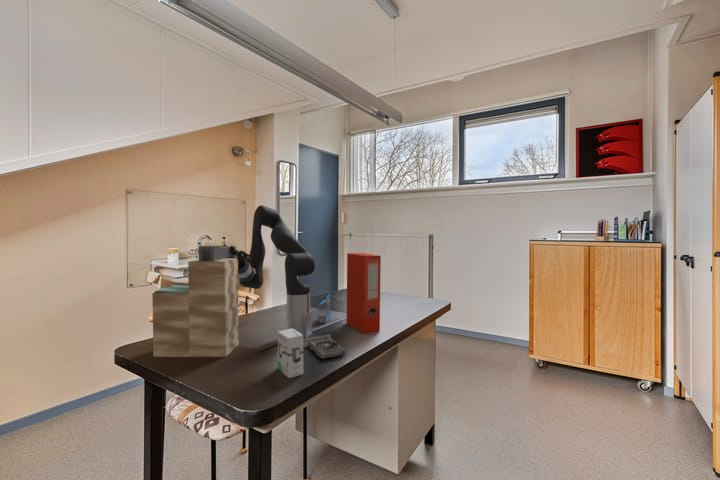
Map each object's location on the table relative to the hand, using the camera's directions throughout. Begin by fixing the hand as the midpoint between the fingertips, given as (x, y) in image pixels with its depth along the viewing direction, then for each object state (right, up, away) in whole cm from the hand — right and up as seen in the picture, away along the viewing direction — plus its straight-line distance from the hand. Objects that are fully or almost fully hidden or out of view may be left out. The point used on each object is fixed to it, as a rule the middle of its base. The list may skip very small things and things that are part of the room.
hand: (226, 248), depth 125 cm
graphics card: (+38, -37, -10) cm, 54 cm away
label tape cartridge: (+34, -35, +30) cm, 57 cm away
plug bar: (0, -4, -5) cm, 6 cm away
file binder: (+52, -35, +19) cm, 66 cm away
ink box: (+30, -37, -26) cm, 54 cm away
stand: (-6, -36, -9) cm, 37 cm away
